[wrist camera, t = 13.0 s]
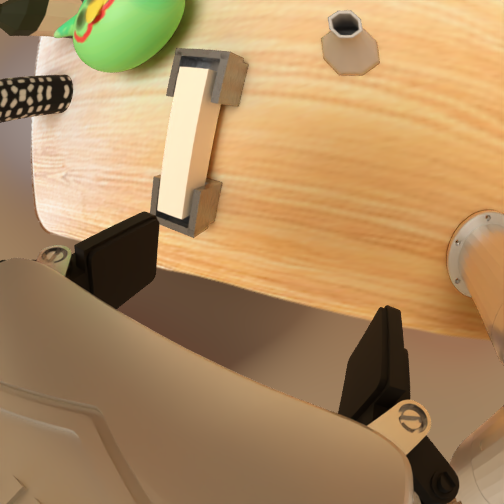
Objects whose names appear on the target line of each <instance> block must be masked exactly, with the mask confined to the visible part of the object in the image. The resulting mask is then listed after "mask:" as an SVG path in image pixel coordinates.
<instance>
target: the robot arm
mask: <svg viewBox="0 0 504 504" xmlns="http://www.w3.org/2000/svg"><path fill="white" fill-rule="evenodd" d="M486 215H487V217H486ZM485 217H486V218H485ZM158 235H159V221H158V220H157V217H156V216H155V215H153V214H150V213H147V212H142V213H139V214H137V215H135V216H133V217H131V218H129V219H126V220H124V221H122V222H120V223H118V224H116V225H114V226H112V227H110V228H108V229H106V230H103V231H101V232H99V233H97V234H95V235H93V236H91V237H89V238H87V239H86V240H84V241H82V242H80V243H78V244H76V245H75V253H74V254H72V253H71V250H70V249H69V248H67V247H65V246H60V245H57V246H50V247H47V248H45V249H43V250H42V251H41V252H40V253H39V255H38V257H37V259H36V260H29V259H24V258H11V259H8V260H1V261H0V504H504V405H503V406H502V407H501V408H500V409H499V410H498V411H497V412H496V413H495V414H494V415H493V416H491V417H490V418H489V419H488V420H487V421H486V422H484V423H483V424H482V425H481V426H480V427H479V428H477V429H476V430H475V431H473V432H472V433H471V434H470V435H469V436H468V437H467V438H466V439H465V440H464V441H463V442H462V443H461V444H460V445H459V446H458V448H457V449H456V451H455V452H454V454H453V456H452V459H451V461H450V464H449V463H448V462H447V461H446V459H445V458H444V457H443V456H442V454H441V453H440V452H439V451H438V449H437V448H436V447H435V446H434V444H433V443H432V442H431V441H430V439H429V438H428V437H427V436H426V435H427V434H428V432H429V431H430V428H431V418H430V415H429V413H428V411H427V410H426V409H425V407H423V406H422V405H421V404H420V403H418V402H416V401H413V400H410V377H409V360H408V351H407V350H406V349H405V348H404V341H403V330H402V320H401V311H400V310H398V309H396V308H393V307H390V306H388V305H387V306H385V307H384V308H382V307H380V308H379V309H378V311H377V313H376V315H375V316H374V318H373V320H372V322H371V323H370V325H369V327H368V329H367V330H366V332H365V334H364V335H363V337H362V339H361V340H360V342H359V344H358V345H357V347H356V348H355V350H354V352H353V353H352V355H351V356H350V358H349V361H348V364H347V369H346V375H345V381H344V386H343V391H342V397H341V402H340V407H339V411H338V414H337V413H335V412H332V411H329V410H327V409H324V408H322V407H319V406H317V405H314V404H311V403H309V402H306V401H303V400H300V399H297V398H295V397H293V396H290V395H288V394H285V393H283V392H280V391H278V390H275V389H273V388H270V387H268V386H266V385H263V384H261V383H259V382H256V381H254V380H252V379H249V378H247V377H245V376H243V375H240V374H238V373H236V372H234V371H231V370H229V369H227V368H225V367H223V366H221V365H218V364H217V363H215V362H212V361H210V360H208V359H206V358H204V357H202V356H200V355H198V354H196V353H194V352H192V351H190V350H188V349H186V348H184V347H182V346H180V345H179V344H177V343H175V342H173V341H171V340H169V339H167V338H165V337H163V336H161V335H160V334H158V333H156V332H154V331H152V330H151V329H149V328H147V327H145V326H144V325H142V324H140V323H138V322H137V321H135V320H133V319H131V318H130V317H128V316H126V315H125V314H123V313H121V312H120V311H118V310H116V309H117V308H119V306H121V305H122V304H124V303H125V302H126V301H127V300H129V299H130V298H131V297H132V296H134V295H135V294H136V293H138V292H139V291H140V290H141V289H143V288H144V287H145V286H146V285H148V284H149V283H150V282H152V281H153V279H154V278H155V275H156V263H157V248H158ZM456 240H458V241H457V242H455V241H456ZM447 269H448V274H449V276H450V279H451V281H452V283H453V285H454V286H455V287H456V288H457V290H458V291H459V292H461V293H462V294H463V295H466V296H468V297H471V298H472V299H473V301H474V303H475V305H476V307H477V309H478V311H479V314H480V316H481V318H482V320H483V323H484V325H485V327H486V330H487V332H488V334H489V337H490V339H491V342H492V344H493V346H494V349H495V351H496V354H497V356H498V358H499V360H500V361H501V363H502V364H503V365H504V214H503V213H501V212H498V211H495V210H485V211H480V212H477V213H475V214H473V215H471V216H470V217H468V218H467V219H466V220H465V221H464V222H463V223H461V224H460V226H459V227H458V228H457V230H456V231H455V232H454V234H453V236H452V238H451V240H450V244H449V247H448V251H447Z"/></svg>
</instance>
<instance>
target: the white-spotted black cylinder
mask: <svg viewBox="0 0 504 504" xmlns="http://www.w3.org/2000/svg"><path fill="white" fill-rule="evenodd" d="M72 93H73V85H72V81H71V78H70V77H69V76H67V75H46V76H28V77H16V78H6V79H0V123H1V122H5V121H10V120H15V119H21V118H27V117H33V116H39V115H46V114H54V113H62V112H64V111H65V110H66V109H67V108H68V106H69V104H70V102H71V99H72Z"/></svg>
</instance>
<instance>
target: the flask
mask: <svg viewBox="0 0 504 504" xmlns="http://www.w3.org/2000/svg"><path fill="white" fill-rule="evenodd" d="M328 22H329V29H330V30H331V31H330V32H329V33H328V34H326V35H325V36H324V37H322V38H321V42H322V50H323V58H324V60H325V61H326V62H327V63H328V64H329V65H330V66H331V67H332V68H333V69H334V70H335V71H336V72H337V73H338V74H339V75H364V74H365V73H366V72H368V71H369V70H371V69H372V68H373V67H375V66H376V65H378V64H379V63H380V61H379V53H378V46H377V42H376V41H375V40H374V39H373V38H372V37H371V36H370V35H369V34H368V33H367V32H366V31H365V30H364V29H363V28H362V23H361V19H360V18H359V17H358V16H357V15H356V14H354V13H353V12H352V11H337V12H335V13H334V14H332V15H331V16H330V17H328Z"/></svg>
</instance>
